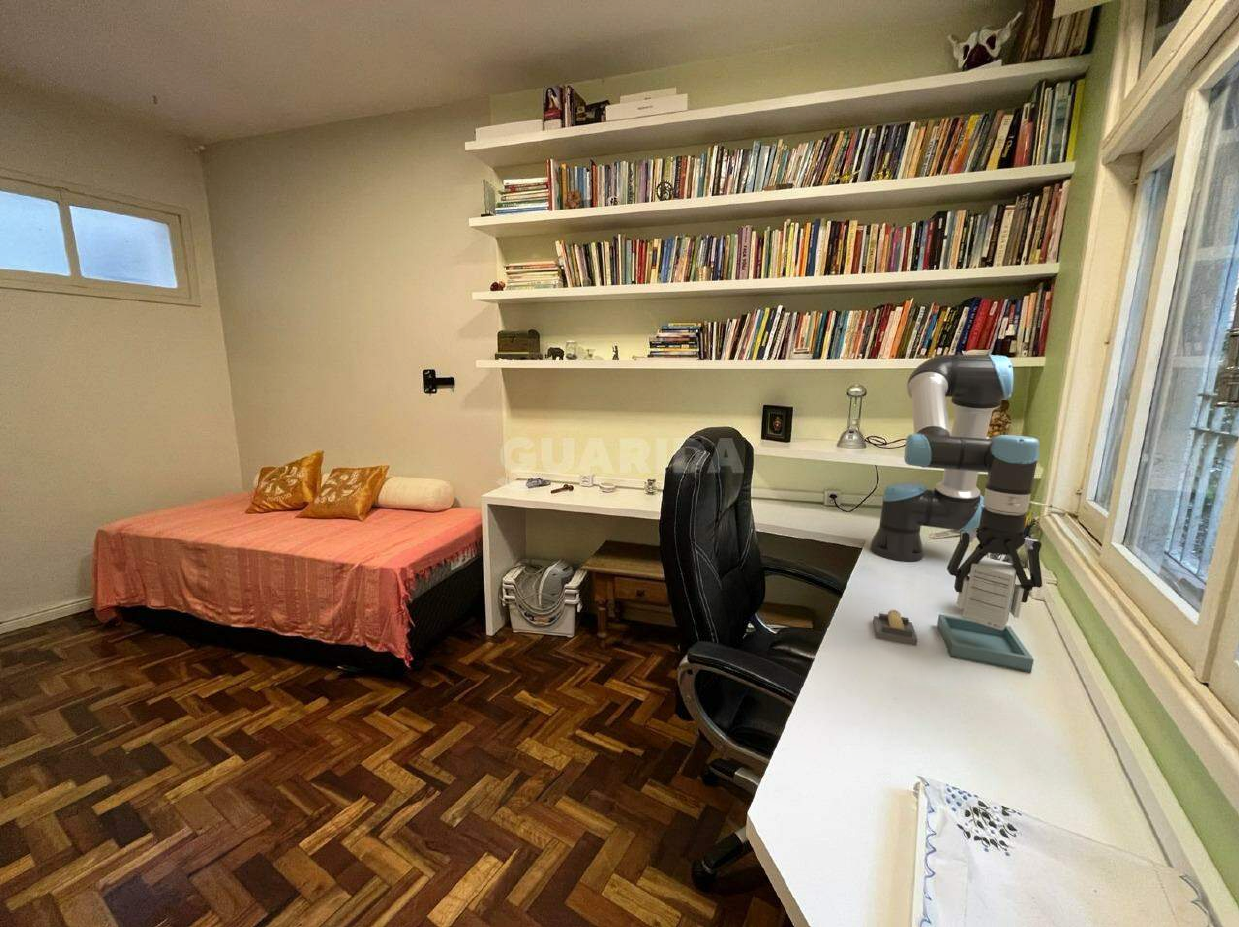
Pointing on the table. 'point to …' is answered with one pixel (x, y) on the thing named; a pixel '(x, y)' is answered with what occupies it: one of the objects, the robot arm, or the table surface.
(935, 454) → the robot arm
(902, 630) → the fuse block
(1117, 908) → the table surface
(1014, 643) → the parts tray
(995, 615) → the supplement box
